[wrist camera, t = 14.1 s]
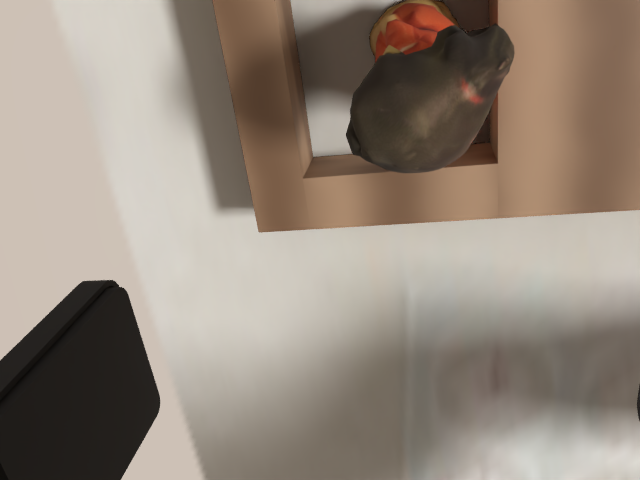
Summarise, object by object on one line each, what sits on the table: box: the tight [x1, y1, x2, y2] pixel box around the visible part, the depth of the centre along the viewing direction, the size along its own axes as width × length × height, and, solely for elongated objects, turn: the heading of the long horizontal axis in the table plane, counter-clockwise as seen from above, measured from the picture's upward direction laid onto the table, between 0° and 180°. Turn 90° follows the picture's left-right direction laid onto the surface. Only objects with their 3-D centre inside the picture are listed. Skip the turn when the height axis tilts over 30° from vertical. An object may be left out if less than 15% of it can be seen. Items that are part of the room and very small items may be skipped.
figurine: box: [346, 0, 515, 173], centre depth 25 cm, size 6×6×12 cm
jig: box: [212, 0, 640, 232], centre depth 28 cm, size 23×16×4 cm
